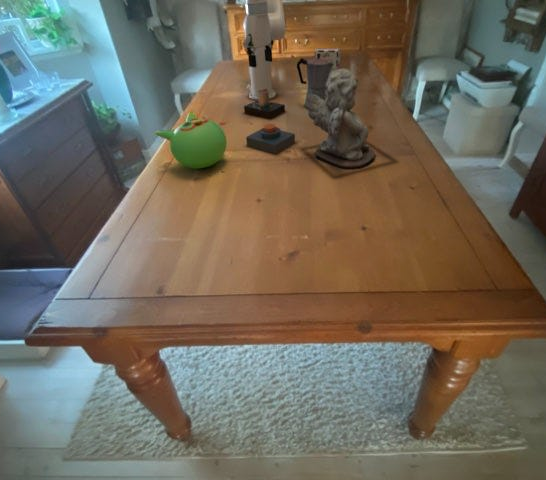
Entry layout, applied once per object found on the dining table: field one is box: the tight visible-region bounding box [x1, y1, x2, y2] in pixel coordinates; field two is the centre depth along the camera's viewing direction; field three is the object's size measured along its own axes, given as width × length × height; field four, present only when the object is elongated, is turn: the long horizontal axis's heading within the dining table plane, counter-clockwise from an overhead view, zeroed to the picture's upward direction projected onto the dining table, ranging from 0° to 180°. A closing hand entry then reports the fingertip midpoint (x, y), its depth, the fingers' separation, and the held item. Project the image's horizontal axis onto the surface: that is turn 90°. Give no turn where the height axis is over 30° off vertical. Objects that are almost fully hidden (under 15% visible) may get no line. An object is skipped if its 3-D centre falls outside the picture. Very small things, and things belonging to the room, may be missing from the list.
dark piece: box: [245, 126, 296, 155], centre depth 121 cm, size 13×11×5 cm
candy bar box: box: [314, 48, 341, 91], centre depth 163 cm, size 11×5×16 cm, turn 68°
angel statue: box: [306, 67, 377, 170], centre depth 105 cm, size 22×22×25 cm
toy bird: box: [155, 110, 228, 170], centre depth 108 cm, size 18×17×15 cm
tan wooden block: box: [258, 89, 270, 107], centre depth 142 cm, size 4×4×6 cm
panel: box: [243, 100, 286, 120], centre depth 145 cm, size 14×10×3 cm
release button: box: [263, 123, 277, 133], centre depth 119 cm, size 4×4×2 cm
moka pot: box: [296, 53, 334, 108], centre depth 143 cm, size 10×15×20 cm, turn 78°
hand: (261, 64), depth 134 cm, fingers open, 9 cm apart
